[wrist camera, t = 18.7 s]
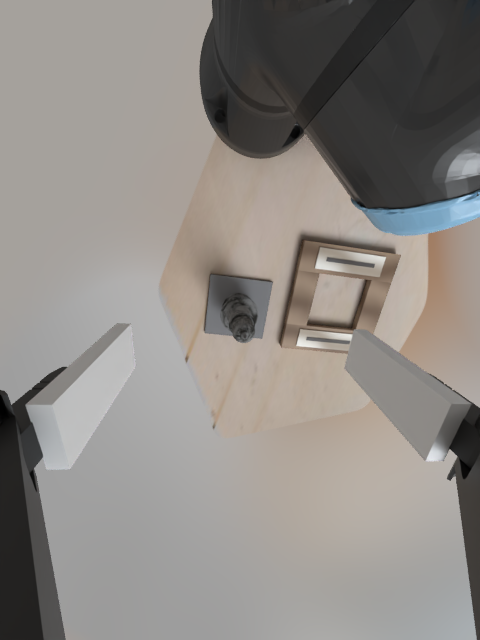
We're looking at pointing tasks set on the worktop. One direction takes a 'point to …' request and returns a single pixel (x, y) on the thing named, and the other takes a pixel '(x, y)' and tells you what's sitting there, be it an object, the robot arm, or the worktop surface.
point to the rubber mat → (228, 286)
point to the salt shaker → (240, 316)
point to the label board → (341, 263)
